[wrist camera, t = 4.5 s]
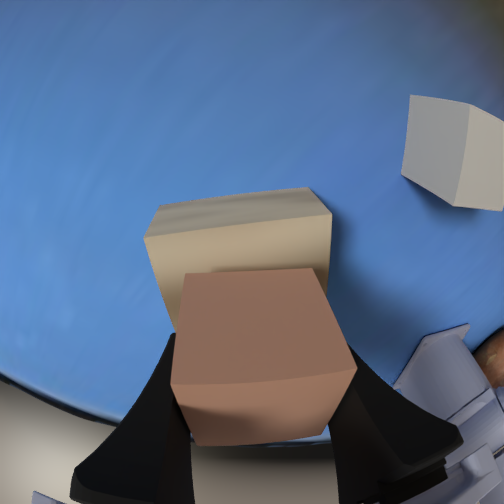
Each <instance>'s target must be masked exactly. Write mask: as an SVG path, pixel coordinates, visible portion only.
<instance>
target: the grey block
mask: <svg viewBox="0 0 504 504" xmlns="http://www.w3.org/2000/svg"><path fill="white" fill-rule="evenodd" d="M401 175H403V176H405V177H407V178H408V179H410V180H412V181H414V182H415V183H417V184H419V185H420V186H422V187H424V188H425V189H427V190H429V191H430V192H432V193H434V194H435V195H437V196H438V197H440V198H442V199H443V200H445V201H446V202H448V203H449V204H451V205H452V206H458V207H468V208H477V209H486V210H494V211H502V209H503V206H504V122H503V121H502V120H500V119H498V118H496V117H495V116H493V115H491V114H489V113H487V112H485V111H483V110H481V109H479V108H477V107H475V106H473V105H471V104H467V103H462V102H457V101H451V100H445V99H439V98H432V97H425V96H416V95H410V105H409V117H408V127H407V135H406V143H405V151H404V158H403V164H402V170H401Z"/></svg>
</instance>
